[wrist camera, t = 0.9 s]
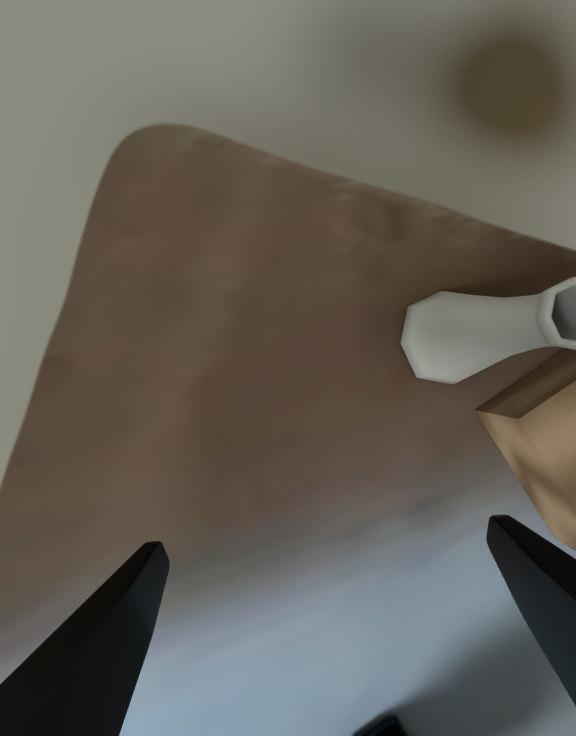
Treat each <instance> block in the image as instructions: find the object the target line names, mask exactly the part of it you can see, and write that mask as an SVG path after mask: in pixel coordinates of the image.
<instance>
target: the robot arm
mask: <svg viewBox="0 0 576 736" xmlns="http://www.w3.org/2000/svg"><path fill="white" fill-rule="evenodd" d="M487 544H488V547H489V549H490V551H491V553H492V555H493V557H494V559H495V561H496V563H497V565H498V568H499V570H500V572H501V574H502V576H503V578H504V580H505V582H506V584H507V586H508V588H509V590H510V592H511V594H512V596H513V598H514V600H515V602H516V604H517V606H518V608H519V610H520V612H521V614H522V616H523V618H524V620H525V621H526V623H527V625H528V627H529V628H530V630H531V632H532V633H533V635H534V637H535V638H536V640H537V642H538V643H539V645H540V647H541V648H542V650H543V652H544V654H545V655H546V657H547V659H548V660H549V662H550V664H551V665H552V667H553V669H554V670H555V672H556V674H557V675H558V677H559V679H560V680H561V682H562V684H563V685H564V687H565V689H566V690H567V692H568V694H569V696H570V697H571V699H572V701H573V702H574V704H575V706H576V559H575V558H573V557H572V556H570V555H569V554H567V553H566V552H564V551H563V550H561V549H560V548H558V547H557V546H555V545H554V544H552V543H550V542H549V541H547V540H546V539H544V538H543V537H541V536H540V535H538V534H537V533H535V532H534V531H532V530H531V529H529V528H528V527H526V526H525V525H523V524H522V523H520V522H519V521H517V520H515V519H514V518H512V517H511V516H508V515H493V516H491V517H490V518H489V523H488V530H487ZM168 571H169V559H168V556H167V554H166V551H165V549H164V546H163V544H162V542H160V541H151V542H146V543H145V544H143V545H142V546H141V547H140V548H139V549H138V550H137V551H136V552H135V553H134V554H133V555H132V556H131V557H130V558H129V559H128V560H127V561H126V562H125V563H124V564H123V565H122V566H121V567H120V568H119V569H118V570H117V571H116V572H115V573H114V574H113V575H112V576H110V577H109V578H108V579H107V580H106V581H105V582H104V583H103V584H102V585H101V586H100V587H99V588H98V589H97V590H96V591H95V592H94V593H93V594H92V595H91V596H90V597H89V598H88V599H87V600H86V601H85V602H84V603H83V604H82V605H81V606H80V607H79V608H78V609H77V610H76V611H75V612H74V613H73V614H72V615H71V616H70V617H69V618H68V619H67V620H66V621H64V622H63V623H62V624H61V625H60V626H59V627H58V628H57V629H56V630H55V631H54V632H53V633H52V634H51V635H50V636H49V637H48V638H47V639H46V640H45V641H44V642H43V643H42V644H41V645H40V646H39V647H38V648H37V649H36V650H35V651H34V652H33V653H32V654H31V655H30V656H29V657H28V658H27V659H26V660H25V661H24V662H23V663H22V664H21V665H20V666H18V667H17V668H16V669H15V670H14V671H13V672H12V673H11V674H10V675H9V676H8V677H7V678H6V679H5V680H4V681H3V682H2V683H1V684H0V736H119V734H120V731H121V728H122V725H123V722H124V719H125V716H126V713H127V710H128V707H129V704H130V701H131V698H132V695H133V692H134V689H135V686H136V683H137V680H138V677H139V674H140V671H141V668H142V665H143V662H144V660H145V657H146V654H147V651H148V648H149V645H150V641H151V638H152V635H153V631H154V628H155V624H156V620H157V616H158V612H159V608H160V604H161V600H162V596H163V592H164V588H165V584H166V580H167V575H168ZM365 736H409V734H408V733H407V731H406V730H405V728H404V727H403V725H402V724H401V722H400V720H399V719H398V718H397V717H395V716H394V717H390V718H389V719H387V720H386V721H384V722H383V723H382V724H380V725H379V726H377V727H376V728H375V729H373V730H372V731H370V732H369V733H368V734H366V735H365Z"/></svg>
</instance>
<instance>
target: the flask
mask: <svg viewBox="0 0 576 736" xmlns="http://www.w3.org/2000/svg"><path fill="white" fill-rule="evenodd" d="M401 346H402V348H403V350H404V352H405V354H406V356H407V358H408V360H409V363H410V365H411V367H412V369H413V371H414V373H415V375H416V377H417V378H422V379H427V380H432V381H437V382H441V383H446V384H451V385H453V384H455V383H457V382H459V381H461V380H463V379H465V378H467V377H469V376H471V375H473V374H475V373H477V372H479V371H481V370H483V369H485V368H487V367H489V366H491V365H493V364H495V363H497V362H499V361H501V360H503V359H505V358H507V357H509V356H511V355H515V354H518V353H522V352H526V351H529V350H533V349H537V348H540V347H550V346H558V347H563V348H568V349H573V350H576V277H572V278H569V279H567V280H565V281H563V282H561V283H559V284H557V285H555V286H553V287H551V288H549V289H547V290H545V291H543V292H542V293H540V294H536V295H529V296H518V297H507V298H502V297H490V296H478V295H469V294H461V293H454V292H446V291H440V292H437V293H435V294H433V295H431V296H429V297H427V298H425V299H423V300H421V301H419V302H417V303H414V304H412V305H410V306H408V308H407V313H406V318H405V323H404V328H403V333H402V339H401Z"/></svg>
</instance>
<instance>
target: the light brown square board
mask: <svg viewBox="0 0 576 736" xmlns="http://www.w3.org/2000/svg"><path fill="white" fill-rule="evenodd" d="M475 411H476V413H477V414H478V416H479V417H480V419H481V421H482V422H483V424H484V425H485V427H486V429H487V430H488V432H489V433H490V435H491V437H492V438H493V440H494V441H495V443H496V445H497V446H498V448H499V449H500V451H501V453H502V454H503V456H504V457H505V459H506V461H507V462H508V464H509V465H510V467H511V469H512V470H513V472H514V473H515V475H516V477H517V478H518V480H519V481H520V483H521V485H522V486H523V488H524V489H525V491H526V493H527V494H528V496H529V497H530V499H531V501H532V502H533V504H534V505H535V507H536V509H537V510H538V512H539V513H540V515H541V516H542V518H543V520H544V521H545V523H546V524H547V526H548V528H549V529H550V531H551V532H552V534H553V536H554V537H555V539H557V540H559V541H560V542H562V543H564V544H565V545H567V546H569V547H570V548H572V549H574V550H575V551H576V350H573V349H568V348H567V349H566V350H564V351H563V352H561V353H560V354H558V355H557V356H555V357H554V358H552V359H551V360H549V361H548V362H546V363H545V364H543V365H542V366H540V367H539V368H537V369H536V370H534V371H533V372H531V373H530V374H528V375H527V376H525V377H524V378H522V379H521V380H519V381H518V382H516V383H515V384H513V385H512V386H510V387H509V388H508V389H506V390H505V391H503V392H502V393H500V394H499V395H497V396H496V397H494V398H493V399H491V400H490V401H488V402H487V403H485V404H484V405H482V406H481V407H479V408H478V409H476V410H475Z"/></svg>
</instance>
